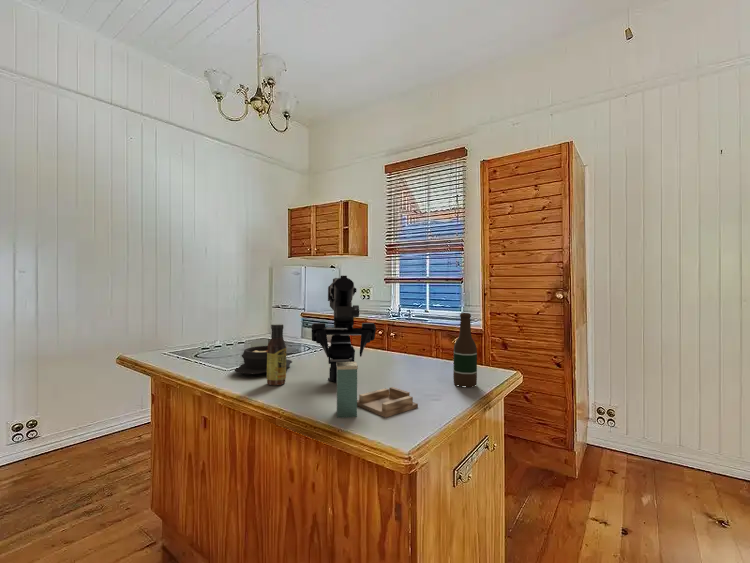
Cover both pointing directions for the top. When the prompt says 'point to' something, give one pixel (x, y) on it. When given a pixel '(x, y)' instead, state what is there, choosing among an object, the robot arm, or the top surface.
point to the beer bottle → (465, 355)
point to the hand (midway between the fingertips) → (344, 356)
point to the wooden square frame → (387, 401)
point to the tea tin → (346, 389)
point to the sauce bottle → (276, 357)
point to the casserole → (256, 361)
